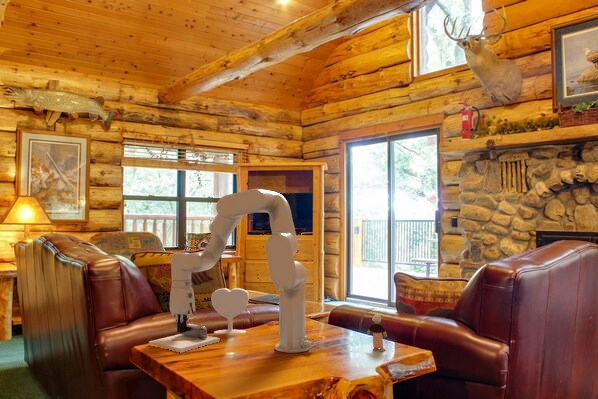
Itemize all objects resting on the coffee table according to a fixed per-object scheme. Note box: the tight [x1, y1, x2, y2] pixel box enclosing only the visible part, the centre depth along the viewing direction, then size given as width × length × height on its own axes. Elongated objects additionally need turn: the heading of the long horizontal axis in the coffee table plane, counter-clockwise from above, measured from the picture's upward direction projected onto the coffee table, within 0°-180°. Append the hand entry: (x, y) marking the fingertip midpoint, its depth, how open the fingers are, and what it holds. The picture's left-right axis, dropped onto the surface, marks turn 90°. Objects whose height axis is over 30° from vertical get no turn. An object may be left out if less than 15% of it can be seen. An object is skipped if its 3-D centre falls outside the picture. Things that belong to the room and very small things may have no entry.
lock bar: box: [179, 325, 208, 339], centre depth 190 cm, size 14×3×4 cm, turn 53°
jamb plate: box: [148, 323, 221, 354], centre depth 186 cm, size 18×19×6 cm
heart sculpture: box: [210, 287, 250, 334], centre depth 206 cm, size 16×5×18 cm, turn 91°
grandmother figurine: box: [366, 313, 388, 353], centre depth 175 cm, size 8×4×13 cm, turn 65°
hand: (181, 331), depth 190 cm, fingers closed
